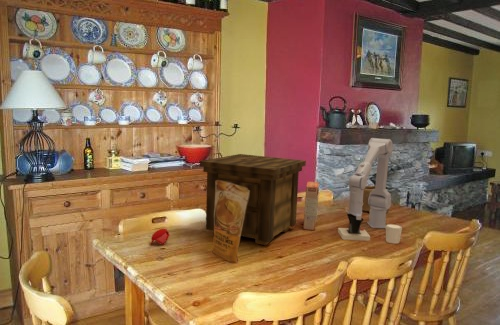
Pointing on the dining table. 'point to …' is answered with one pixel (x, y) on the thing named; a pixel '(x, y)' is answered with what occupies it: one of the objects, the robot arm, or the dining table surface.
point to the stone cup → (365, 198)
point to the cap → (160, 236)
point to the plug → (351, 229)
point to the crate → (258, 192)
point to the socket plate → (347, 236)
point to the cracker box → (311, 205)
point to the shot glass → (393, 233)
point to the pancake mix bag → (229, 218)
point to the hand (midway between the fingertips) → (353, 231)
